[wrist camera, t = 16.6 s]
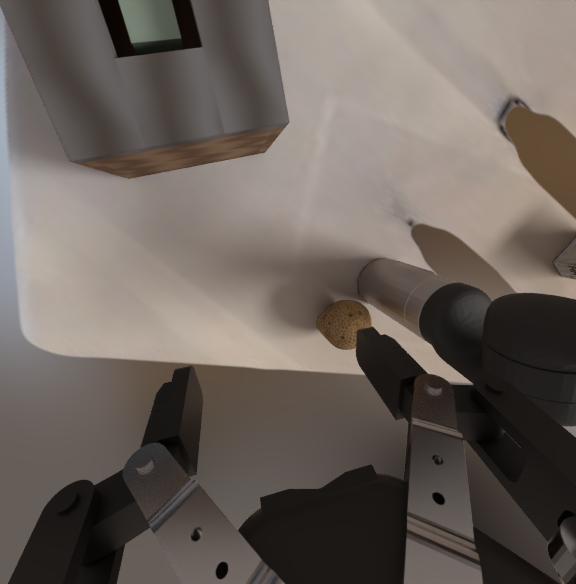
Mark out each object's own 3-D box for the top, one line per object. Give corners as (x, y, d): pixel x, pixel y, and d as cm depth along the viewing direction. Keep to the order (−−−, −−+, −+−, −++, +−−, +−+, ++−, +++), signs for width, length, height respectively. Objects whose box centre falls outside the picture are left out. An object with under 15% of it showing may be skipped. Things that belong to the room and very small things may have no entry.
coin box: (224, -42, 33) (226, -239, 18) (265, 152, 41) (289, 122, 26) (50, -28, 30) (-114, -250, 16) (129, 178, 38) (69, 161, 23)
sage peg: (183, 49, 34) (165, -26, 23) (194, 90, 36) (181, 38, 25) (148, 53, 34) (111, -22, 22) (160, 94, 35) (131, 43, 24)
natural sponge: (363, 316, 54) (392, 338, 45) (328, 342, 54) (350, 371, 45) (341, 282, 51) (367, 299, 41) (304, 311, 51) (322, 334, 41)
